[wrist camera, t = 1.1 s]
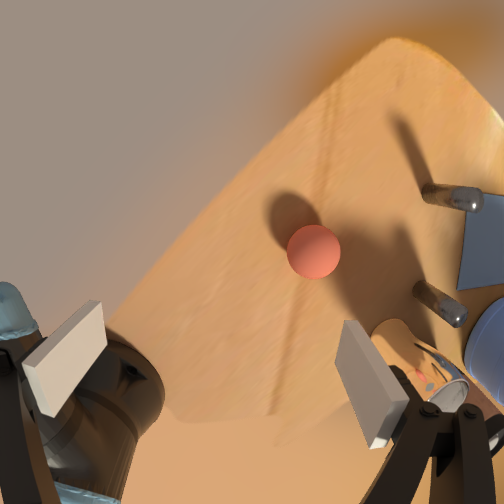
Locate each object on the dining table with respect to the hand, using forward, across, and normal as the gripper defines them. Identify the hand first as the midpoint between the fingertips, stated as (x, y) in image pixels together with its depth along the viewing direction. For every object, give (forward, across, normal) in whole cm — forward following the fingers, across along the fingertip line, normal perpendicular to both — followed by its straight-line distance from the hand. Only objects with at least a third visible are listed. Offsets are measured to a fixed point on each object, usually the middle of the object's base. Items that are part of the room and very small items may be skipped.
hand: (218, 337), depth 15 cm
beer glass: (+19, -21, +11) cm, 31 cm away
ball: (+16, -8, -1) cm, 18 cm away
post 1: (+19, -23, -9) cm, 31 cm away
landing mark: (+20, -38, -4) cm, 43 cm away
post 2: (+19, -24, +4) cm, 31 cm away
